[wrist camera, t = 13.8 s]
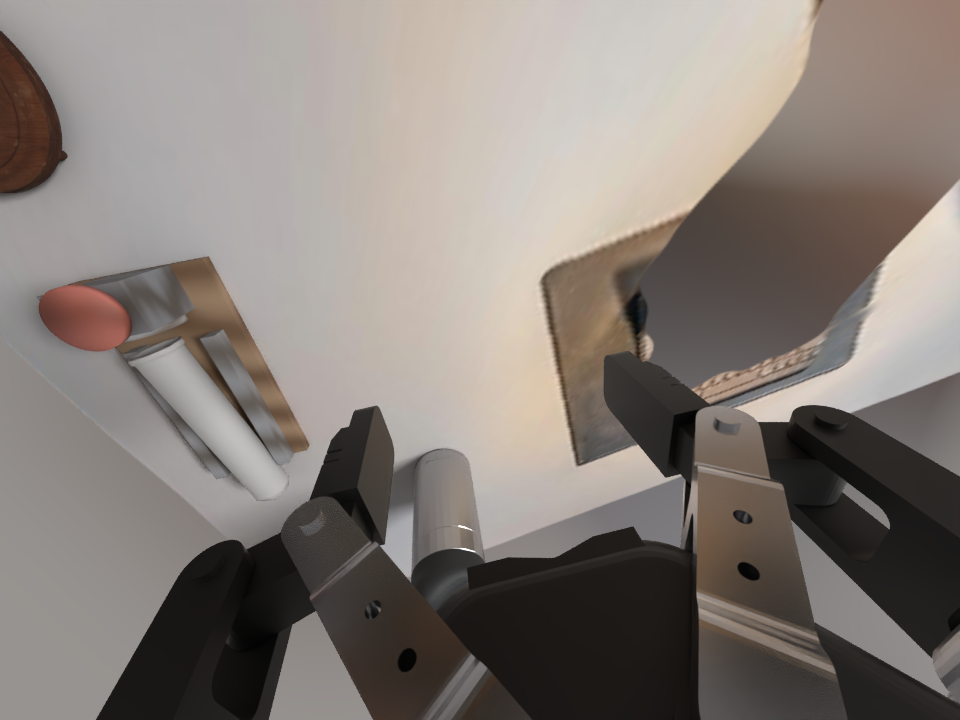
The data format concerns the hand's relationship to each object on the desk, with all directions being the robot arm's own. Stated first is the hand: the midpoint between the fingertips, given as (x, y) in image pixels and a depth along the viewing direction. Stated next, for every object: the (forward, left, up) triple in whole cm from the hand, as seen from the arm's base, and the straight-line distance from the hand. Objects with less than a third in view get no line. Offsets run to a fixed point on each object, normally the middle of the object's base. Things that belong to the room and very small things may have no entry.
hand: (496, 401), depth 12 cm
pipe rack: (-10, +33, -33) cm, 48 cm away
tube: (-16, +33, -32) cm, 49 cm away
